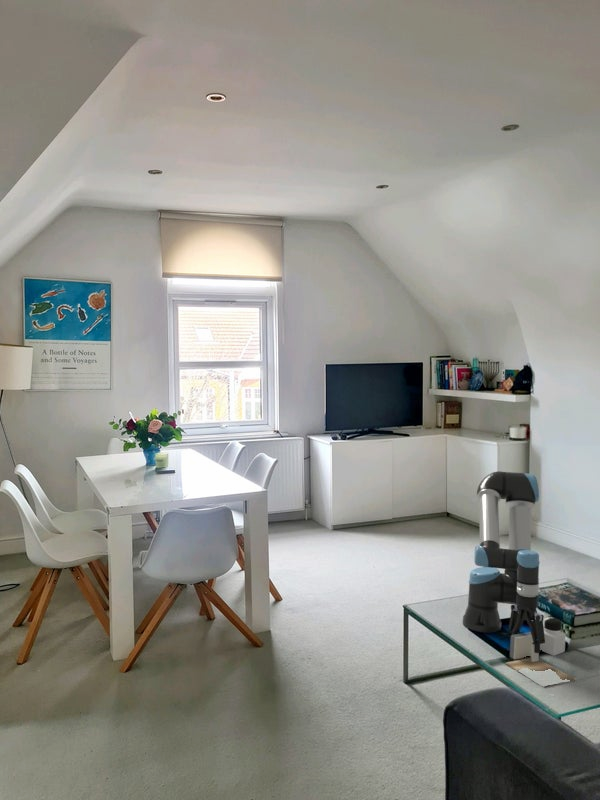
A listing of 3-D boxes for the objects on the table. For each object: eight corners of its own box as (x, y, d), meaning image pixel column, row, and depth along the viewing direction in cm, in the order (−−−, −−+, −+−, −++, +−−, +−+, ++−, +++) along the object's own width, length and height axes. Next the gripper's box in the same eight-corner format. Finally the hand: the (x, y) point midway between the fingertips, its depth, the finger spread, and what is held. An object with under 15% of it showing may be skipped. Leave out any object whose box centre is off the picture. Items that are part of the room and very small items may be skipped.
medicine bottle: (564, 652, 242) (566, 620, 241) (553, 656, 238) (555, 624, 237) (548, 645, 248) (549, 614, 247) (536, 649, 244) (538, 617, 243)
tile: (509, 656, 236) (510, 635, 235) (530, 652, 240) (531, 631, 240) (514, 659, 234) (515, 638, 233) (535, 655, 238) (536, 634, 237)
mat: (505, 664, 229) (505, 662, 229) (534, 658, 235) (534, 656, 235) (543, 687, 213) (543, 686, 213) (574, 680, 219) (574, 679, 219)
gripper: (499, 587, 243) (497, 647, 243) (541, 603, 224) (539, 669, 224) (514, 585, 246) (512, 644, 246) (557, 601, 227) (555, 665, 227)
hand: (525, 656), depth 235 cm, fingers open, 8 cm apart
